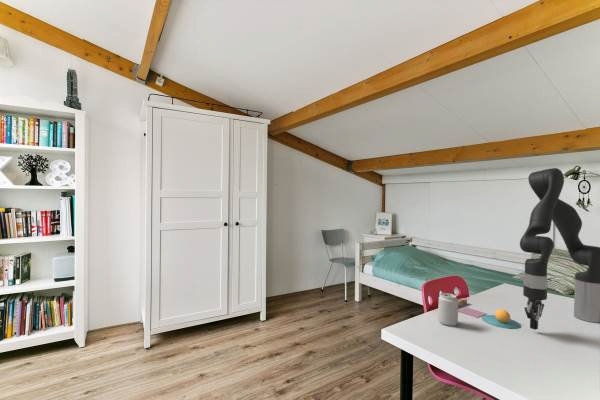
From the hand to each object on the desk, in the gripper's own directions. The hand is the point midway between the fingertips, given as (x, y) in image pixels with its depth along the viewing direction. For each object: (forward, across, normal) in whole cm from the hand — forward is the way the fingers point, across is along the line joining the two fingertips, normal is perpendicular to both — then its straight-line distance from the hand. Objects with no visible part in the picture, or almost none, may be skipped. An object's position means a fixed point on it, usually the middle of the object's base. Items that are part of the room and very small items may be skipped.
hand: (533, 328), depth 120 cm
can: (+2, +22, -23) cm, 32 cm away
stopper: (+2, 0, -32) cm, 33 cm away
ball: (-1, 0, -11) cm, 11 cm away
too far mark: (+2, 0, -24) cm, 24 cm away
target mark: (+2, 0, -12) cm, 12 cm away
